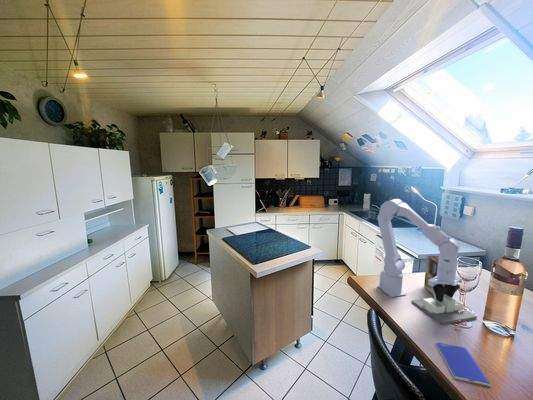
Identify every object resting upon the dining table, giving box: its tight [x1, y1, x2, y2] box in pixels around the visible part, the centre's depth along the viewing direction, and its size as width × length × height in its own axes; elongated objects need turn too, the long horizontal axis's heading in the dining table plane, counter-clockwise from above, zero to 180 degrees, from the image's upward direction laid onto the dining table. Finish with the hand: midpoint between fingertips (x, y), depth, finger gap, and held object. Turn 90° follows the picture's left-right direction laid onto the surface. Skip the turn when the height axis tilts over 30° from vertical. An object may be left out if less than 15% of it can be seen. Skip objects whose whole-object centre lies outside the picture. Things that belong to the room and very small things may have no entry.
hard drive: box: [435, 342, 491, 387], centre depth 67 cm, size 2×8×12 cm
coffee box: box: [423, 255, 444, 296], centre depth 104 cm, size 9×6×16 cm
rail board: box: [411, 296, 478, 326], centre depth 92 cm, size 14×16×4 cm
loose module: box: [433, 293, 455, 313], centre depth 91 cm, size 6×4×5 cm, turn 11°
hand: (443, 299), depth 91 cm, fingers open, 4 cm apart
